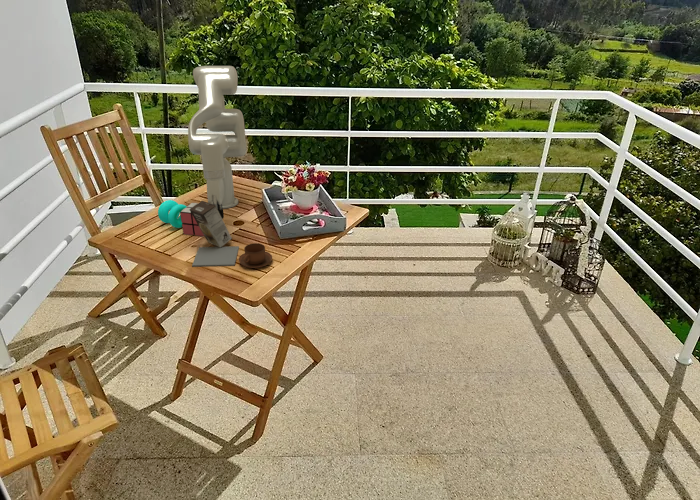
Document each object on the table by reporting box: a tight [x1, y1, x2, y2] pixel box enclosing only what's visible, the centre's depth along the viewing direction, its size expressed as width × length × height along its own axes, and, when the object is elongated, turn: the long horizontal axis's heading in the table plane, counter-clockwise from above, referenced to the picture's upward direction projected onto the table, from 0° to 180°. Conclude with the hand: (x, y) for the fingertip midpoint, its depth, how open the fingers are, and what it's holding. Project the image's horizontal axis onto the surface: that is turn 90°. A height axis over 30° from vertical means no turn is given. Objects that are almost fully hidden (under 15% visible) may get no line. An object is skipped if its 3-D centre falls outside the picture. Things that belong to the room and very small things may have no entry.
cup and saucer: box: [238, 242, 273, 269], centre depth 181 cm, size 12×12×6 cm
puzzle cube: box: [179, 202, 205, 238], centre depth 203 cm, size 10×10×10 cm
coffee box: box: [190, 200, 233, 248], centre depth 190 cm, size 9×6×16 cm
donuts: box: [157, 199, 188, 229], centre depth 207 cm, size 10×10×10 cm
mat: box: [191, 245, 240, 268], centre depth 185 cm, size 14×15×1 cm
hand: (219, 218), depth 194 cm, fingers closed
